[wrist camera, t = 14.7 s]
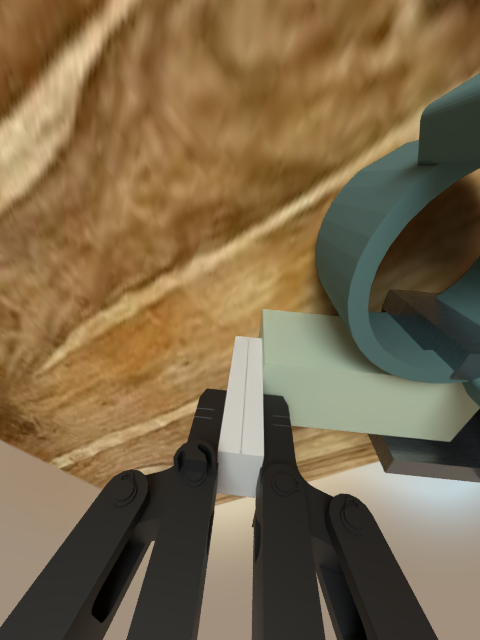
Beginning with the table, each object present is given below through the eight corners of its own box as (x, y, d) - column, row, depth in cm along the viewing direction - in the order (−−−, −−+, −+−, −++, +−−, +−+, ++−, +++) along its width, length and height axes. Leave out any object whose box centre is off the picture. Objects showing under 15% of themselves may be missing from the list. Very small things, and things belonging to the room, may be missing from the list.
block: (255, 359, 17) (255, 421, 12) (262, 309, 14) (264, 362, 10) (399, 373, 16) (450, 441, 12) (426, 324, 14) (499, 385, 10)
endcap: (348, 388, 17) (392, 489, 12) (390, 289, 13) (489, 369, 8) (475, 401, 17) (583, 509, 11) (556, 304, 13) (785, 396, 7)
